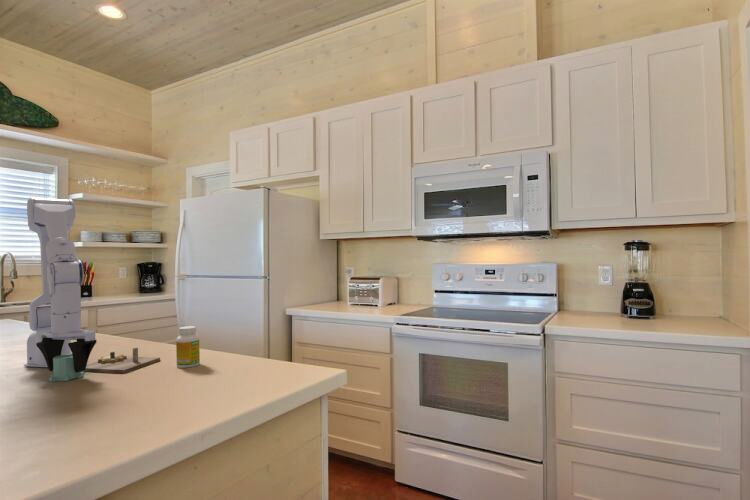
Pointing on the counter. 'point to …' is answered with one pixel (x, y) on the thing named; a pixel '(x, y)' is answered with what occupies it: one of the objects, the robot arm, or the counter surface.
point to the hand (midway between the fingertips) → (67, 370)
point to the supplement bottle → (187, 347)
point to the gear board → (120, 363)
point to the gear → (64, 368)
